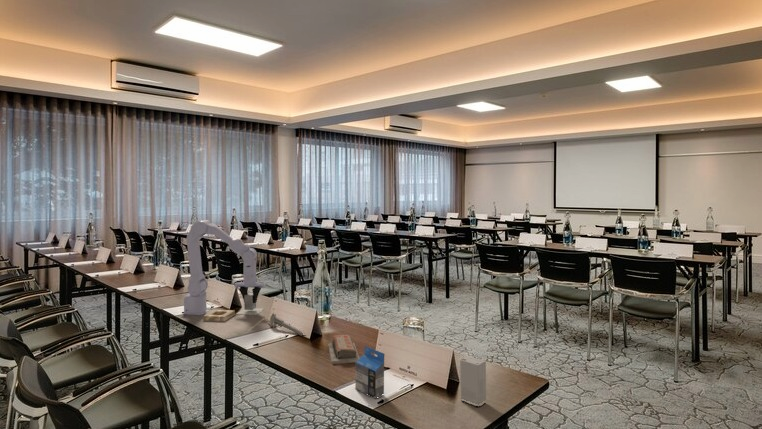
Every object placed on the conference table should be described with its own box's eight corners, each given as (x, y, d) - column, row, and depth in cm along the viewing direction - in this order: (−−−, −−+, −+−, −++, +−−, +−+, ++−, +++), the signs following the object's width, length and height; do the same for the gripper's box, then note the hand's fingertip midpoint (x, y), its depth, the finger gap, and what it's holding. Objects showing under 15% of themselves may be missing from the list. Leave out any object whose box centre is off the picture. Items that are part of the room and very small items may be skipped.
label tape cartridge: (354, 389, 131) (354, 348, 130) (364, 385, 134) (364, 345, 133) (375, 399, 125) (375, 357, 124) (384, 395, 128) (385, 353, 127)
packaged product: (327, 334, 167) (353, 332, 169) (327, 346, 167) (353, 344, 169) (331, 351, 149) (360, 349, 151) (331, 365, 149) (360, 363, 151)
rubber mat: (235, 315, 205) (235, 313, 205) (244, 309, 215) (244, 307, 215) (256, 315, 204) (256, 314, 204) (264, 309, 214) (264, 308, 214)
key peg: (244, 309, 208) (244, 295, 207) (248, 307, 212) (247, 293, 211) (252, 310, 207) (252, 295, 207) (256, 307, 211) (255, 293, 211)
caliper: (269, 327, 188) (269, 313, 188) (271, 327, 189) (271, 312, 189) (304, 337, 177) (304, 321, 176) (306, 336, 178) (306, 321, 177)
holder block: (203, 321, 195) (203, 315, 195) (214, 314, 205) (214, 309, 205) (225, 322, 194) (224, 316, 194) (235, 315, 204) (234, 310, 204)
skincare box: (486, 403, 123) (487, 360, 122) (478, 409, 120) (479, 365, 119) (467, 395, 127) (468, 354, 126) (459, 401, 124) (459, 359, 123)
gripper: (231, 275, 205) (232, 304, 206) (261, 276, 204) (261, 305, 205) (238, 272, 212) (238, 300, 213) (267, 273, 211) (267, 301, 212)
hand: (250, 302), depth 209 cm, fingers closed on key peg, 4 cm apart
